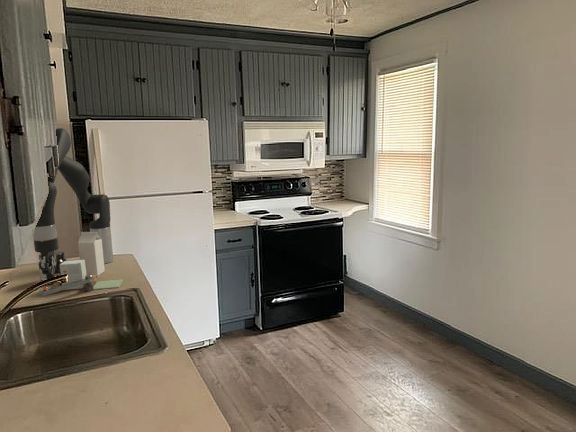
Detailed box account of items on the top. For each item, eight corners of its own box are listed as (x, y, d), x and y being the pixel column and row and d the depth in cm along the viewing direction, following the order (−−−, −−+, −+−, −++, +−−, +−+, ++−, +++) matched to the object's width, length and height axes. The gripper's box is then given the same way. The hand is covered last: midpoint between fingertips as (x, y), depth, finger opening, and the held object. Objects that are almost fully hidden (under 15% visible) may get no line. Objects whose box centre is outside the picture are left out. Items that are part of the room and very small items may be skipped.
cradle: (61, 283, 177) (60, 275, 177) (100, 280, 180) (100, 272, 180) (50, 295, 163) (49, 286, 162) (92, 291, 166) (91, 282, 166)
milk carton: (97, 276, 186) (93, 233, 183) (81, 276, 186) (76, 233, 184) (104, 271, 193) (100, 230, 190) (89, 272, 194) (85, 230, 191)
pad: (97, 282, 177) (97, 281, 177) (122, 280, 179) (122, 279, 179) (91, 290, 168) (91, 289, 168) (118, 287, 170) (118, 286, 170)
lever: (39, 294, 153) (39, 287, 152) (90, 280, 168) (89, 273, 168) (43, 296, 151) (42, 288, 151) (94, 281, 167) (93, 274, 166)
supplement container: (39, 286, 174) (35, 257, 172) (41, 279, 184) (38, 252, 182) (68, 282, 179) (65, 254, 177) (69, 276, 188) (66, 249, 186)
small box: (88, 284, 175) (85, 259, 174) (83, 288, 170) (80, 262, 168) (67, 285, 174) (64, 260, 172) (62, 290, 169) (59, 264, 167)
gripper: (40, 234, 159) (46, 279, 162) (27, 242, 146) (33, 290, 149) (62, 233, 161) (67, 277, 164) (51, 240, 148) (57, 288, 151)
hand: (51, 283), depth 156 cm, fingers closed
